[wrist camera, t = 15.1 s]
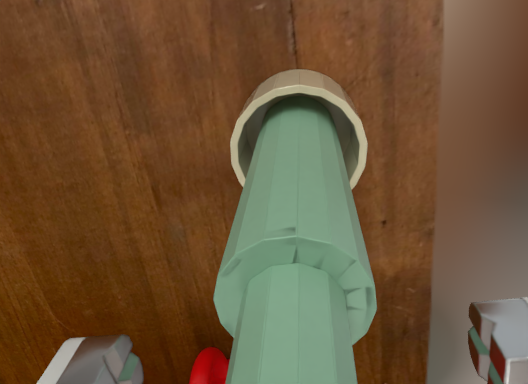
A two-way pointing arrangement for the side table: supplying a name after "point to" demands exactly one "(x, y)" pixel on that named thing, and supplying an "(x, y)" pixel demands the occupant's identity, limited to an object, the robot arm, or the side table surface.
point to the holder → (307, 86)
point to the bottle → (295, 257)
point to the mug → (209, 367)
